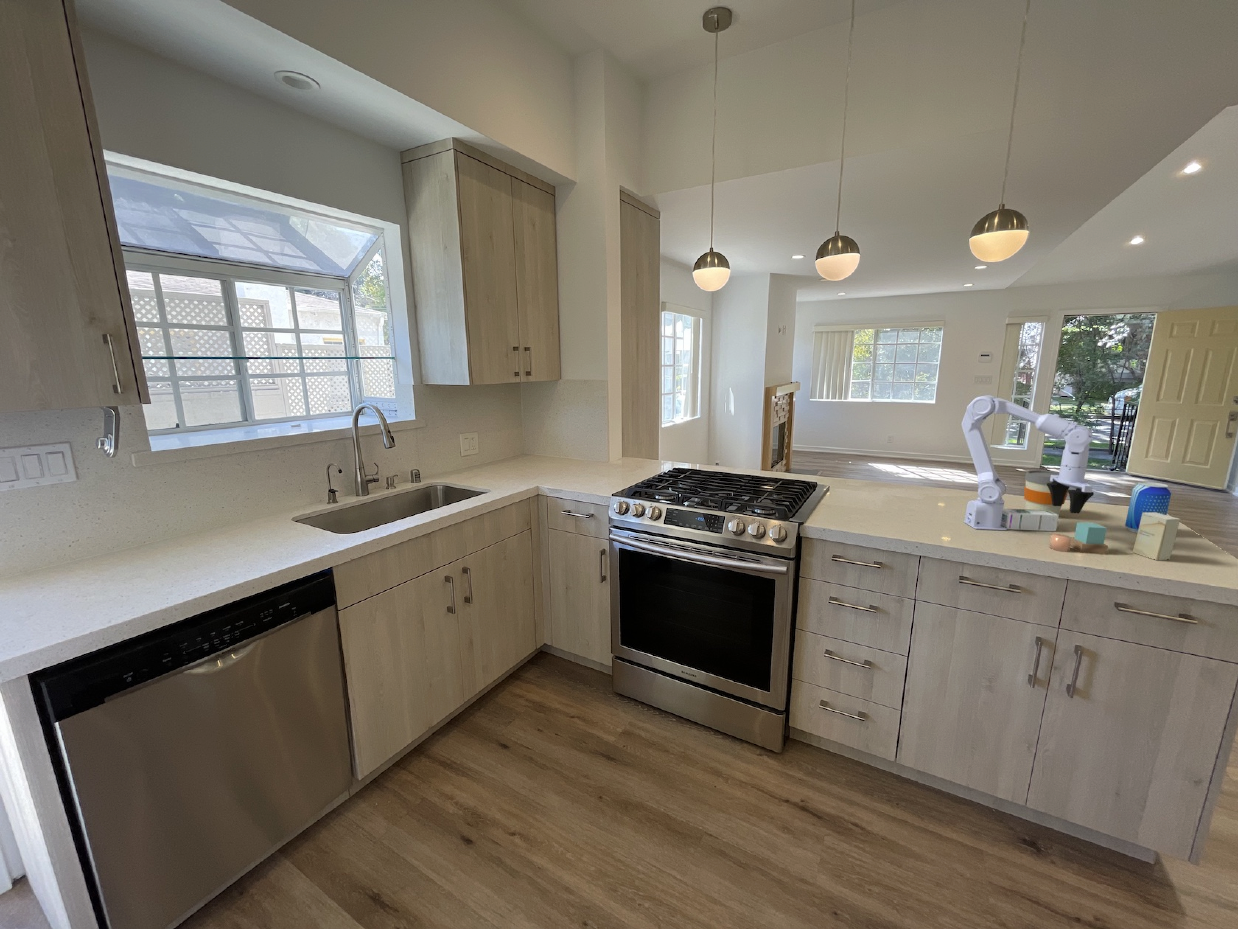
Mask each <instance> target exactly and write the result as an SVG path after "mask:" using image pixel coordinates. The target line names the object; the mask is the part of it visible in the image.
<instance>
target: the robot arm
mask: <svg viewBox="0 0 1238 929" xmlns="http://www.w3.org/2000/svg"><path fill="white" fill-rule="evenodd" d="M992 414H994V415H999V414H1007V415H1009V416H1012V417H1015V418H1018V419H1021V420H1022V421H1025V422H1029V423H1031V424H1034V425H1035V428H1036V430H1037V431H1038V432H1041V433H1044V434H1046V435H1049V436H1050V437H1053V438H1055V439H1058V440H1064V441H1065V445H1064V449H1063V450H1062V451H1063V452H1062V456H1061V462H1060V467H1059V472H1058V473H1059V475H1051V477H1050V481H1052V483H1047V486H1048V488H1049V490H1050V493H1051V498H1052V504H1053V506H1061V507H1062V506H1063V505H1064V504H1063V501H1064V497H1065V495H1066V492H1067V491H1068V495H1069V512H1070V514H1080V513H1081V511H1082V510H1083V508H1084V506H1085V505H1086V503H1087V502H1088V500H1089V499H1090V498H1092V497H1093V496H1094V492H1093V488H1094V487H1093V485H1090V484H1089V482H1088V480H1085V477H1086V471H1087V466H1088V460H1089V456H1090V452H1089V451H1090V443H1091V442H1092V439H1093V431H1092V430H1091V429H1090V428H1089V427H1088V426H1086V425H1082V424H1079V423H1078V422H1076V421H1073V422H1072V421H1070V420H1068V419H1064V418H1062V417H1061V415H1060V414H1058V413H1054V414H1053V413H1046V414H1040V413H1038V412H1036V411H1032V410H1031V409H1029V408H1026V407H1024V406H1022V405H1019V404H1018V403H1015V402H1012V401H1009V400H1007V399H1005V398H1000V397H996V396H994V395H991V394H988V395H982V396H977V397H975V398H974V399H973V400H972V401H971V402H970V403H969V404H968V405H967V406H966V411H965V413H964V416H963V418H962V421H961V423H960V424H961V428H962V431H963V436H964V438H965V441H966V444H967V447H968V450H969V453H970V455H971V459H972V462H973V464H974V465H973V466H974V468H975V471H976V474H977V484H978V489H977V495H978V497H977V499H975V500H973V499H972V500H969V501H968V502H967V505H966V508H965V509H966V510H965V514H964V515H965V516H964V520H963V523H964V524H966V525H968V526H970V527H972V528H973V529H975V530H989V531H990V530H991V531H993V530H994V531H1007V530H1008V529H1006V528H1004V527H1002V526H1001V520H1002V513H1003V509H1004V506H1005V499H1003V497H1002V496H1004V495H1005V494H1006V492H1007V485H1006V483H1004V482H1003V481H1002V480H1001V478H1000V476H999V474H998V473H997V471H996V469H995V465H994V463H993V460H992V456H991V454H990V451H989V448H988V445H987V442H986V439H985V435H984V433H983V429H982V427H981V426H982V424H983V423H984V422H985V420H986V419H987V418H988V417H989V416H991V415H992ZM1070 488H1073V489H1070Z"/></svg>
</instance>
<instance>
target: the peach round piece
mask: <svg viewBox="0 0 1238 929" xmlns="http://www.w3.org/2000/svg"><path fill="white" fill-rule="evenodd" d="M1070 543H1071V536H1069V535H1066V534H1063V533H1062V534H1061V533H1052V534H1051V536H1050V541H1049V547H1048V548H1049V549H1050V550H1052V549H1053V550H1052V551H1056V552H1061V553H1062V552H1063V553H1069V552H1070V548H1071V547H1070Z"/></svg>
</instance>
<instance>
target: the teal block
mask: <svg viewBox="0 0 1238 929" xmlns="http://www.w3.org/2000/svg"><path fill="white" fill-rule="evenodd" d="M1107 529H1108V528H1107V527H1105V526H1103V525H1101V524H1097V523H1095V522H1076V528H1075V533H1074V539H1076V540H1079V541H1081V542H1083V543H1085V544H1103V545H1104V544H1105V540H1106V534H1107Z"/></svg>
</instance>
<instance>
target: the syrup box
mask: <svg viewBox="0 0 1238 929" xmlns="http://www.w3.org/2000/svg"><path fill="white" fill-rule="evenodd" d="M1059 515H1060V514H1059ZM1059 515H1057V514H1055V513H1053V512H1050V511H1048V510H1028V509H1026V508H1025V509H1024V508H1023V509H1022V508H1003V513H1002V520H1001V526H1002V527H1005V528H1006V529H1007V530H1018V531H1019V530H1021V531H1022V530H1023V531H1038V532H1039V531H1041V532H1056V531H1057V528H1058V524H1059V523H1058V522H1059V517H1060V516H1059Z"/></svg>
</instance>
